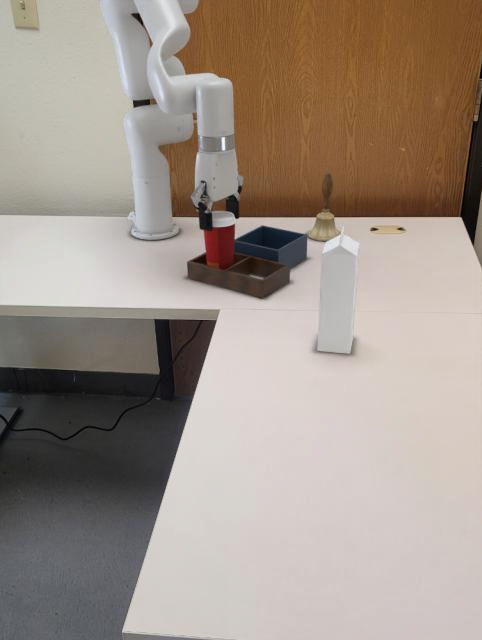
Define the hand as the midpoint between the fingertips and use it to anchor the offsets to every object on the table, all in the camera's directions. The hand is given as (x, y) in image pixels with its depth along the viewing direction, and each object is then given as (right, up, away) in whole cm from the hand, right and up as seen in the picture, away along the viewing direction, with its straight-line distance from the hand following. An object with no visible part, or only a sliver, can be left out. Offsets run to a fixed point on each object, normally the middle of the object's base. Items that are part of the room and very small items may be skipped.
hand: (219, 223), depth 157 cm
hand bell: (+27, +3, +27) cm, 38 cm away
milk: (+22, -28, -23) cm, 42 cm away
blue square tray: (+12, -6, +13) cm, 19 cm away
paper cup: (0, -10, +7) cm, 12 cm away
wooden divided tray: (+4, -12, +4) cm, 13 cm away
